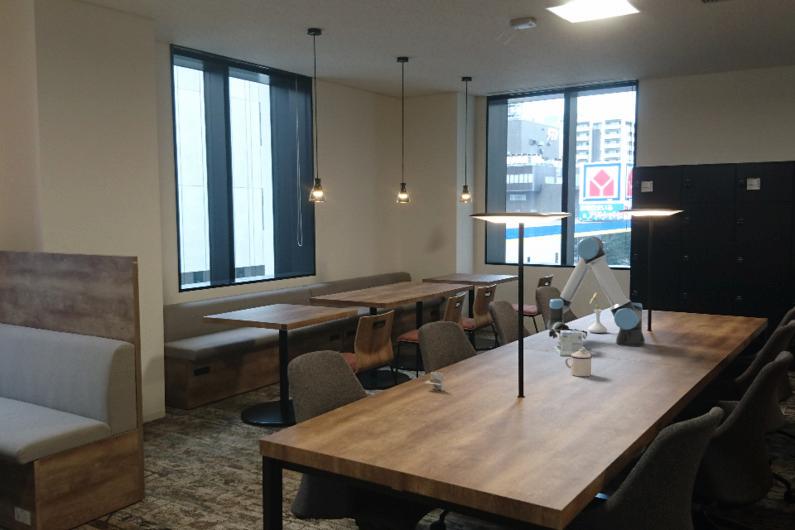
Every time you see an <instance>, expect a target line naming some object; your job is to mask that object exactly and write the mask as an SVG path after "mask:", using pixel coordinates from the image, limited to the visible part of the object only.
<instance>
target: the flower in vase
mask: <svg viewBox="0 0 795 530" xmlns="http://www.w3.org/2000/svg"><path fill="white" fill-rule="evenodd" d="M597 294H598V292H597V291H596V292H594V294H593V297H592V298H591V299H590V301H589V304H592V303H593V302H594V300H595V302H596V304H595V309H593V312H594V313H595V314H594V315H595V321H594V322H593V324H591V325H590V326H589V327H588V328H587V332H590V333H593V334H594V333H595V334H596V333H597V334H603V333H606V332H607V331H608V328H607V327H606V326H604V324H603V323H602V322H601V321H600V318H601V313H602V312H603V310H602V309H599V308H601V307H600V305H599V303H598V301H597V298H596V296H597Z"/></svg>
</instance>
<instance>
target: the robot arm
mask: <svg viewBox="0 0 795 530" xmlns="http://www.w3.org/2000/svg"><path fill="white" fill-rule="evenodd" d="M576 253H577V254H578V255H579V259H578V261H577V263H576V265H575V267H574V268H573V270H572V273H571V275H570V277H569V278H568V280H567V282H566V284H565V285H564V288H563V289H562V292H561V293H560V295H559V297H558V298H551V299H550V300H549V305H548V306H549V320H548V322H547V329H548V330H549V332H548V334H549V335H548V336H549V338H551V337H552V339H557V340H560V330H564V331H565V330H574V331H579V330H580V331H581V332H582V339H584V340H587V337H588V330H587V331H585V330H581V329H576V328H574V329H573V328H570V327H569V326H568V325H567V324H566V323H564V314H565V313H567V312H568V311H569V310H570V309H571V304H572V303H573V300H574V298H575V297H576V295H577V293H578V291H579V290H580V288H581V286H582V284H583V282H584V280H585V279H586V277H587V275H588V273H589V271H590V269H591V271H592V272H593V275H594V276H595V278H596V280H597V281H598V284H599V285H600V287H601V290H602V291H603V293H604V295H605V296H606V298H607V300H608V302H609V303H610V309H609V310H610V312H611V313H612V315H613V317H614V318H613V319H614V320H613V321H614V323H615V325H616V326H617V327H618V328H619V331H618V333H617V336H616V339H615V341H616V342H615V344H618V345H619V346H627V347H631V346H632V347H640V346H641V347H642V346H645V345H646V339H645V336H644V333H643V304H642V303H640V302H632V301H631V300H630V299H627V297H626V296H625V294H624V292H623V290H622V288H621V286H620V284H619V283H618V281H617V279H616V276H615V275H614V273H613V271H612V270H611V268H610V266H609V264H608V263H607V261H606V256H607V255H606V253H605V250H604V243H603V241H602V240H601V239H600V238H599V237H597V236H585V237H583V238H582V239H581V240H580V241H579V242H577V245H576Z"/></svg>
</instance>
